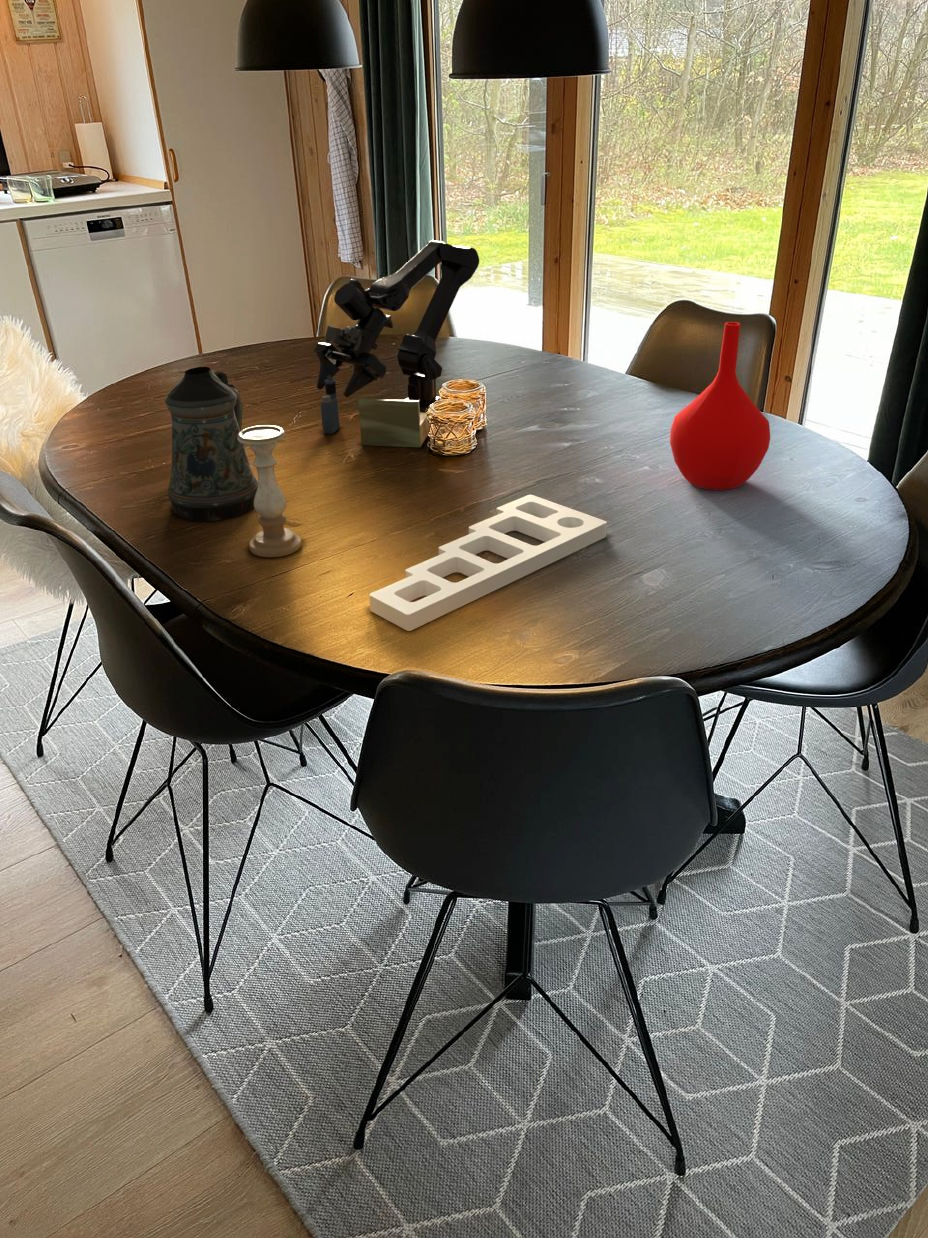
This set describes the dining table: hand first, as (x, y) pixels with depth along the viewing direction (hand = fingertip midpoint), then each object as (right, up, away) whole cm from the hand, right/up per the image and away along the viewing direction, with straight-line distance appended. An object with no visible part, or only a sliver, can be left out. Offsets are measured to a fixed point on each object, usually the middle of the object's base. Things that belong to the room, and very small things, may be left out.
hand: (331, 392), depth 213 cm
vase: (+78, -24, -27) cm, 86 cm away
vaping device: (0, -8, +4) cm, 9 cm away
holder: (+31, -41, -56) cm, 76 cm away
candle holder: (-3, -38, -49) cm, 62 cm away
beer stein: (-18, -28, -31) cm, 45 cm away
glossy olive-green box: (+15, -10, -2) cm, 18 cm away
